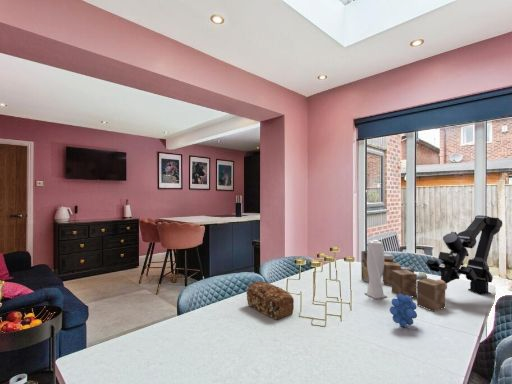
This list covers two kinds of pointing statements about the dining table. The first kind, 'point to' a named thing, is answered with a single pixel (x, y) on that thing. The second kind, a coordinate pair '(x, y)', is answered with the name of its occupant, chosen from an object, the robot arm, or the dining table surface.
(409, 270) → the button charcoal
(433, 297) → the box right
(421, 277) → the button sage
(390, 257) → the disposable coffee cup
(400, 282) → the box middle
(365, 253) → the coffee box
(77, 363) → the dining table surface
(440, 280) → the button terracotta
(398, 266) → the box left
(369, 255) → the skyscraper
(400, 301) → the grapes
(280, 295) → the bread
